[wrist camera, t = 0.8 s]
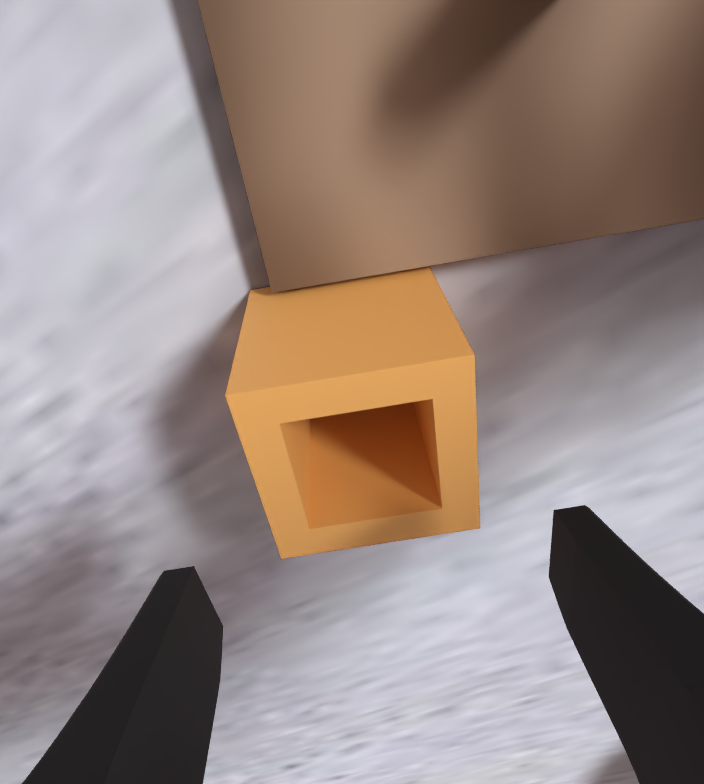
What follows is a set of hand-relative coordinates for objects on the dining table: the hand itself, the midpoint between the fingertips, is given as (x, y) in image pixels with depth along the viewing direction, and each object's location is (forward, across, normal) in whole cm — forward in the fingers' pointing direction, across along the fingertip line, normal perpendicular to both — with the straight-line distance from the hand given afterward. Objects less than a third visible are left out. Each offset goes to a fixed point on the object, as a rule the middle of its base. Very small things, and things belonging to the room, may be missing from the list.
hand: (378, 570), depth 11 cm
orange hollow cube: (+9, 0, 0) cm, 9 cm away
